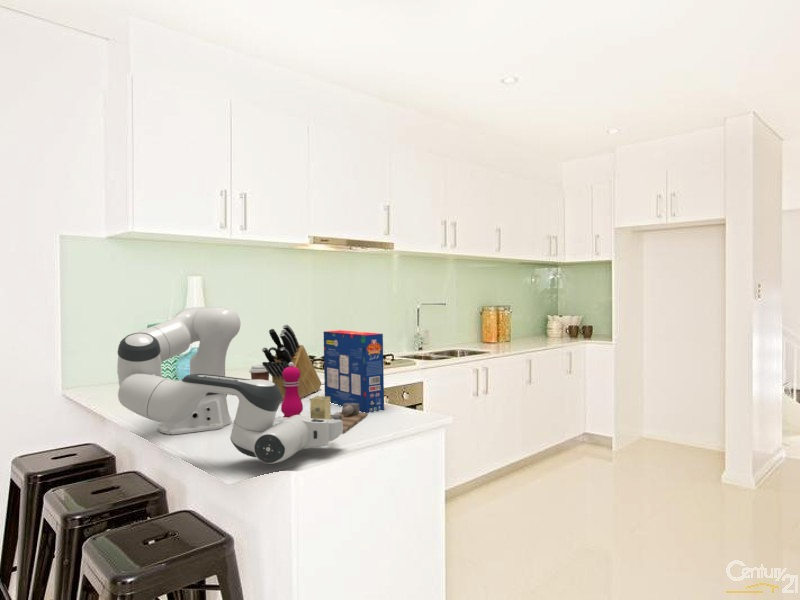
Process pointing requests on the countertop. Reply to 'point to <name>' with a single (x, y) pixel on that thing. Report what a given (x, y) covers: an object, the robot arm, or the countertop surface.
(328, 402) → the block
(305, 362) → the knife block
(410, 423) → the countertop surface
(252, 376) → the coffee cup
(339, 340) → the pasta box
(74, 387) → the countertop surface
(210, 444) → the countertop surface
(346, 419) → the shaft bench
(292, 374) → the pepper mill
